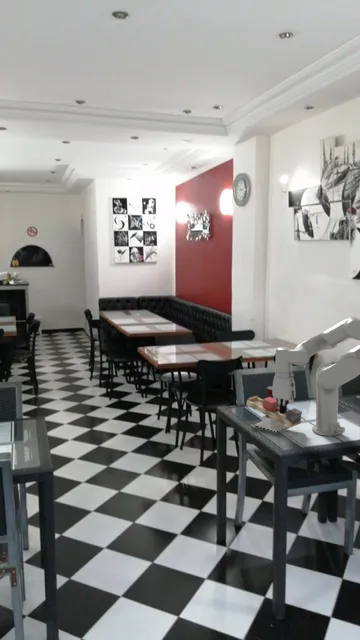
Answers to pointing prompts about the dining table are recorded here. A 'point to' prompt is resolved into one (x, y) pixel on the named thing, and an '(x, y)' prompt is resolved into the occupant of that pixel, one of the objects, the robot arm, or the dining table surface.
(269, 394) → the mug
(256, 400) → the beam
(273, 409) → the block
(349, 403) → the dining table surface
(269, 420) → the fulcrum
